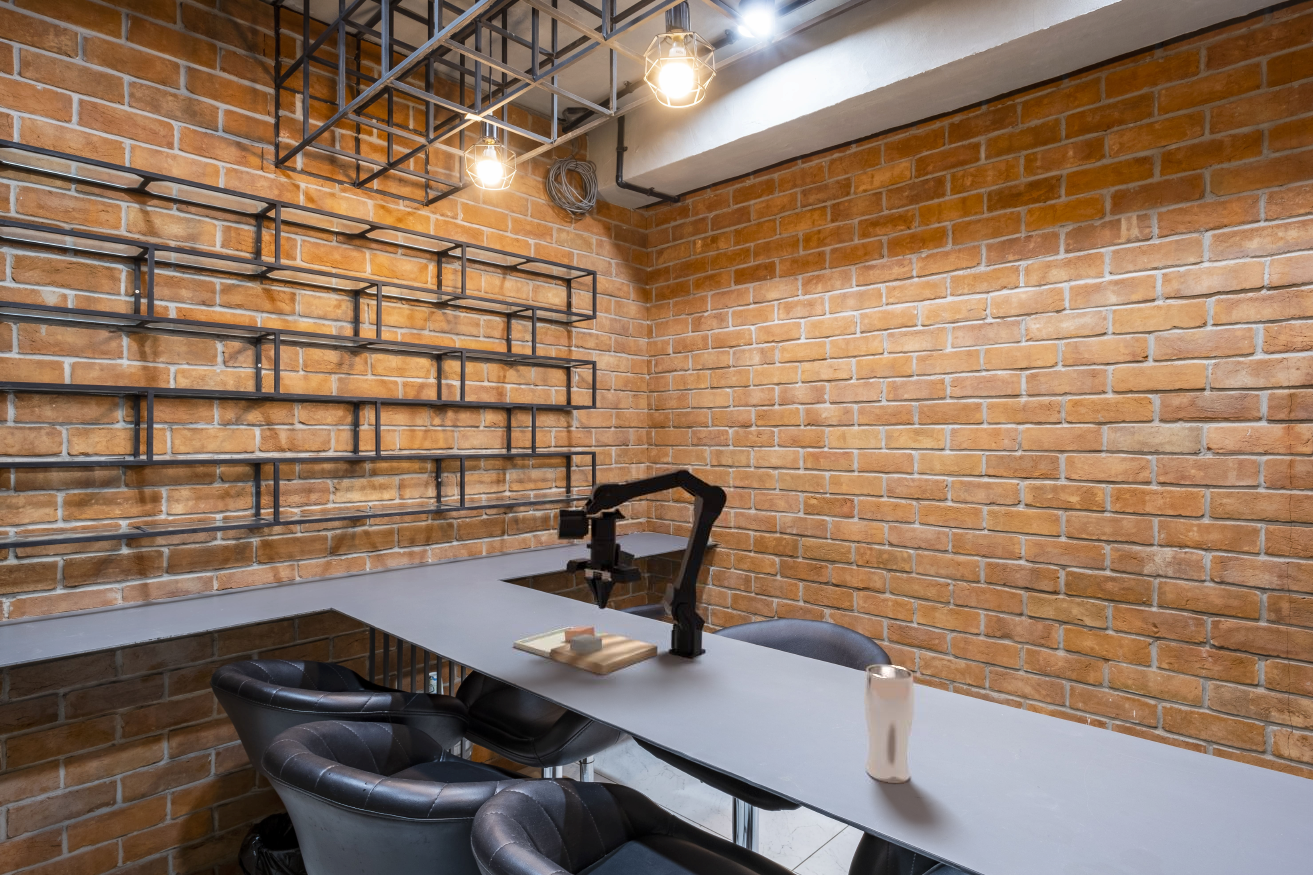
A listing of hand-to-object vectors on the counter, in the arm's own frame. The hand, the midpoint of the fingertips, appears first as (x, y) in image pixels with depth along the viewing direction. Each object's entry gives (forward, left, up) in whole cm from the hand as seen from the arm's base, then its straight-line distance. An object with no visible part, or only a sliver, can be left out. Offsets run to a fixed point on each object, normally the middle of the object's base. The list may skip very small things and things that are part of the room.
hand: (602, 608), depth 150 cm
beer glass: (-68, +11, -11) cm, 70 cm away
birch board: (0, -1, -11) cm, 11 cm away
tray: (+14, -1, -11) cm, 18 cm away
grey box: (+2, +3, -9) cm, 10 cm away
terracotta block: (+11, -4, -10) cm, 16 cm away
